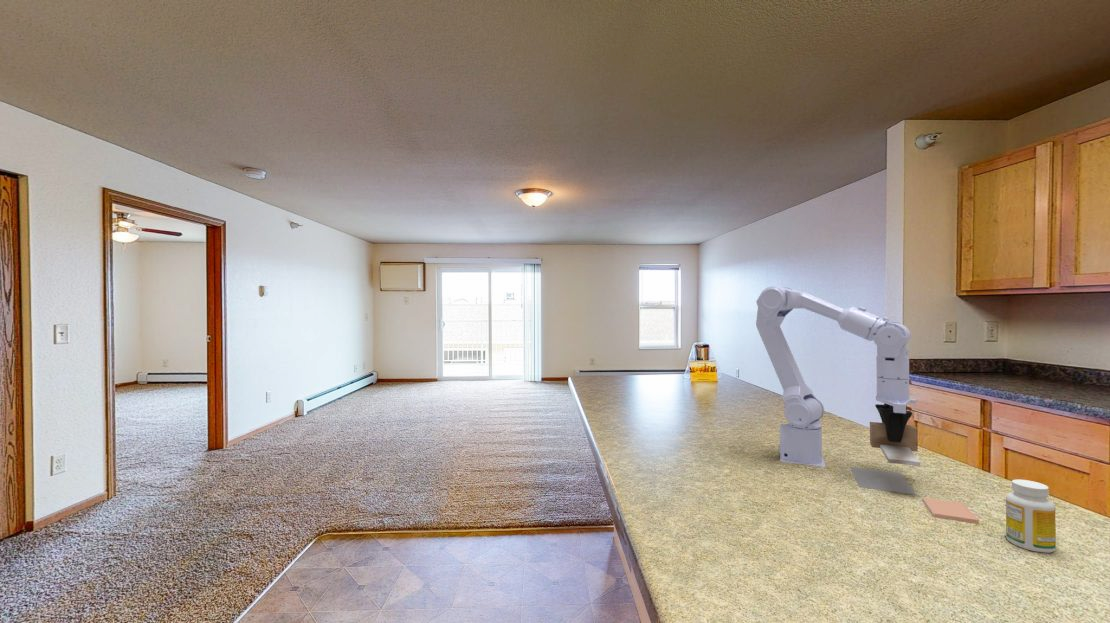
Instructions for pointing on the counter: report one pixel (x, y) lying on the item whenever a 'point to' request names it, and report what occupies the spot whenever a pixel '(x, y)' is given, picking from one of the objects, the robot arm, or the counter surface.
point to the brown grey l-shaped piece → (896, 444)
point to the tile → (949, 510)
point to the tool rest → (882, 480)
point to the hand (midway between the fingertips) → (893, 439)
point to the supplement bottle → (1030, 517)
